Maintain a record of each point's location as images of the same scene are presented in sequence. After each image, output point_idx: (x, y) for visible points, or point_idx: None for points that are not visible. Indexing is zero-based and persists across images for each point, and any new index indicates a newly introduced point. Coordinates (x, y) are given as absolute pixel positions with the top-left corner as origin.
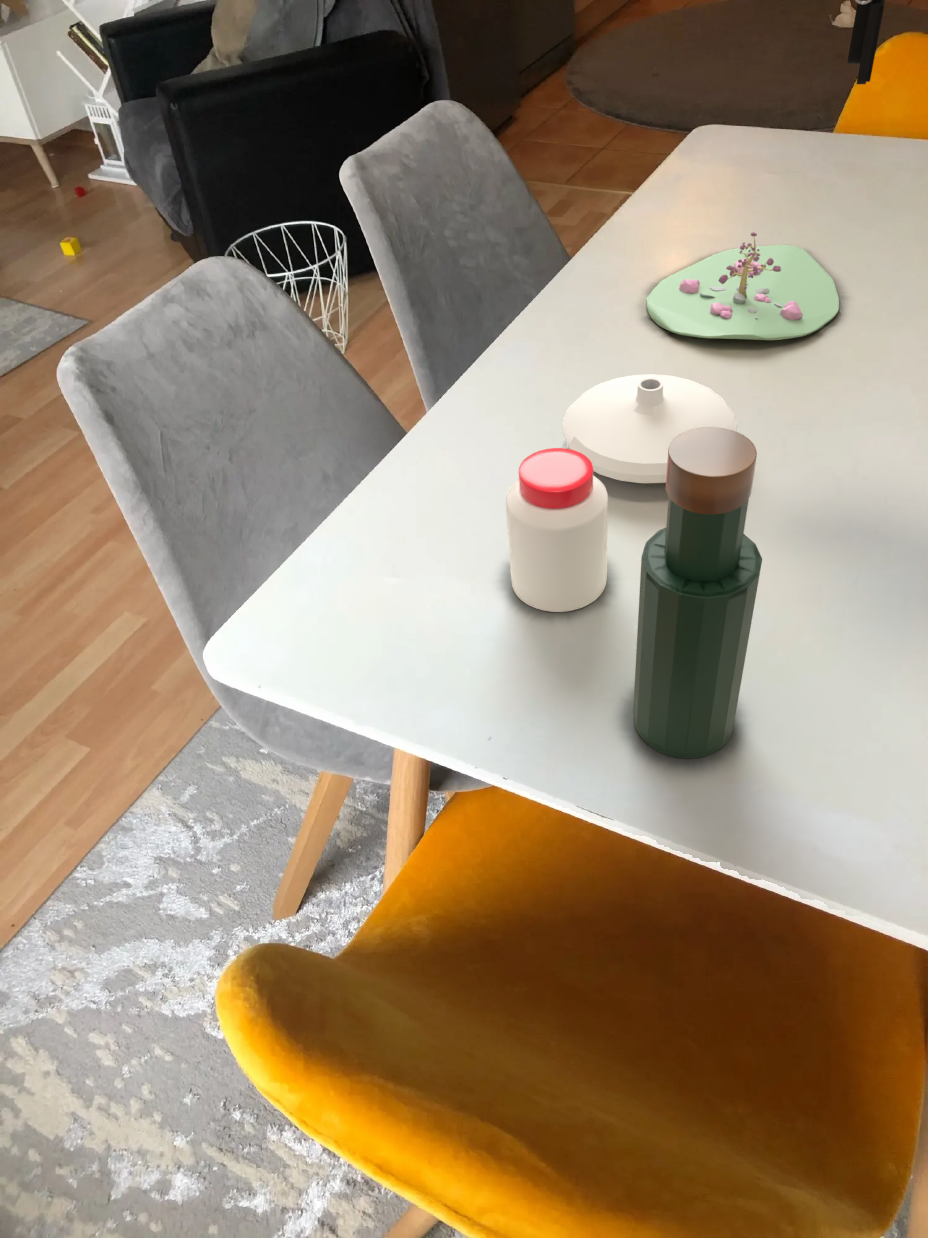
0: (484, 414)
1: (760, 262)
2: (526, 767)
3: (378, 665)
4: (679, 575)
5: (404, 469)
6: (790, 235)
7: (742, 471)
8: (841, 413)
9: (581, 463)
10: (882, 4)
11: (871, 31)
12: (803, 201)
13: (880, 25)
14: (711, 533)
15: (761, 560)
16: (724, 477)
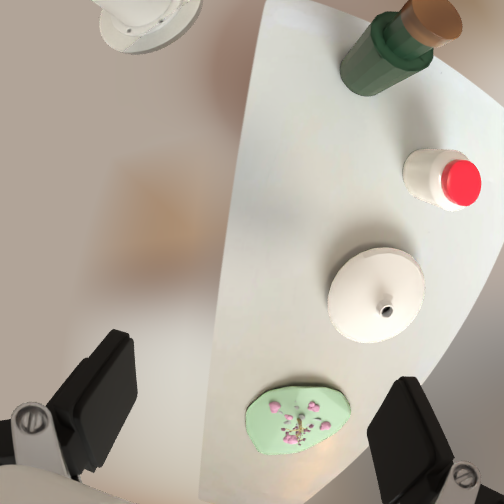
0: (448, 317)
1: (283, 443)
2: None
3: (487, 122)
4: None
5: (485, 268)
6: (262, 460)
7: None
8: (257, 326)
9: (453, 187)
10: (422, 472)
11: (433, 428)
12: (252, 478)
13: (422, 438)
14: None
15: (370, 33)
16: None
